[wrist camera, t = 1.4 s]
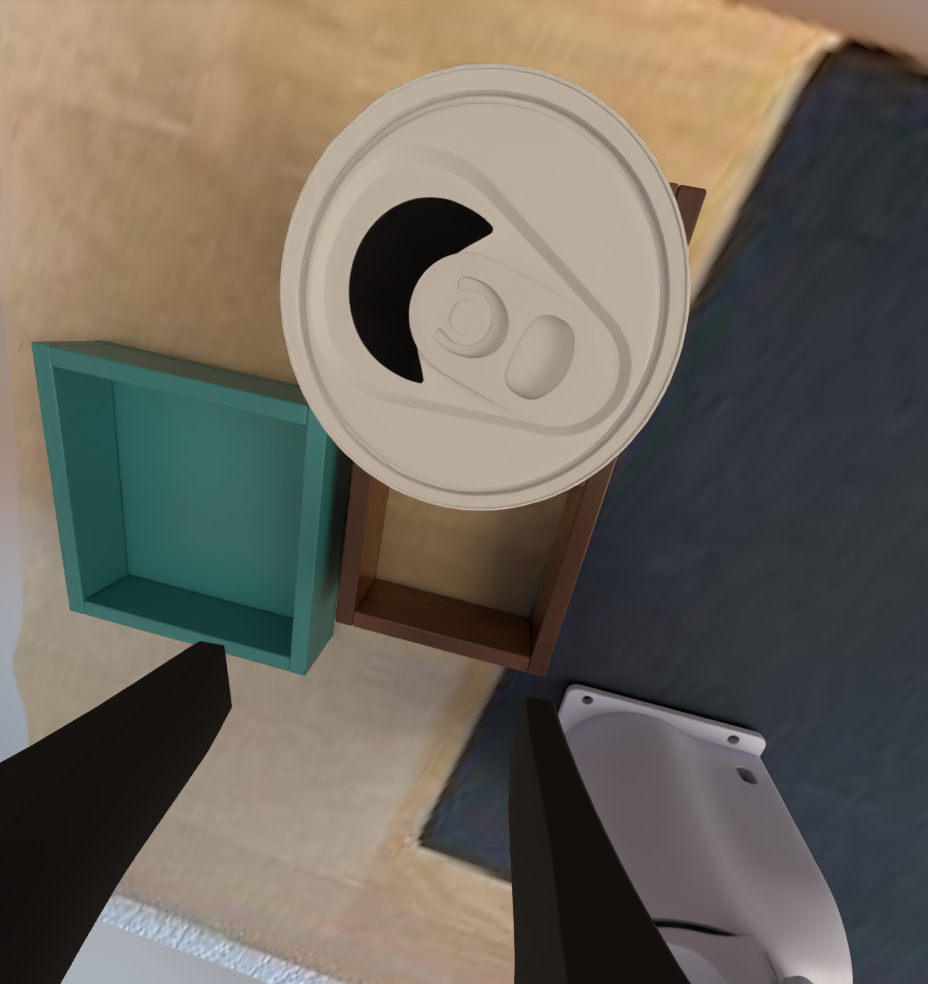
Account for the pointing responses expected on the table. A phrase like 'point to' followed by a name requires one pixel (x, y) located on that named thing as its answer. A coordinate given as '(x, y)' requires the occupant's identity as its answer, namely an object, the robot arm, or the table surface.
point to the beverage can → (485, 286)
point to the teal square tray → (193, 500)
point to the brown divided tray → (460, 621)
